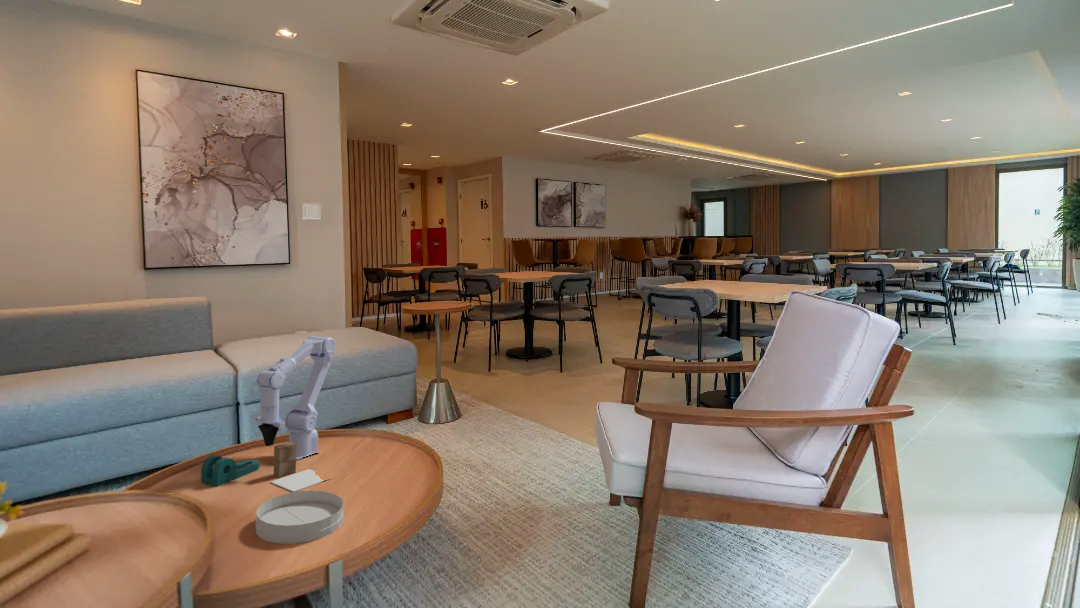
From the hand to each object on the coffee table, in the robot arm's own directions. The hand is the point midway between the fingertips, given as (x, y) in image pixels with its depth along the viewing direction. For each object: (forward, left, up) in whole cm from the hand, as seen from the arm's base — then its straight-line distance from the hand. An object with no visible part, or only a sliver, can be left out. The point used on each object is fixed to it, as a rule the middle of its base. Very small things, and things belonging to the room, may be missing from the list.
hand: (269, 445), depth 190 cm
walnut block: (0, +9, -8) cm, 12 cm away
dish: (+18, +43, -8) cm, 47 cm away
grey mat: (0, +18, -8) cm, 20 cm away
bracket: (+10, -3, -8) cm, 14 cm away
